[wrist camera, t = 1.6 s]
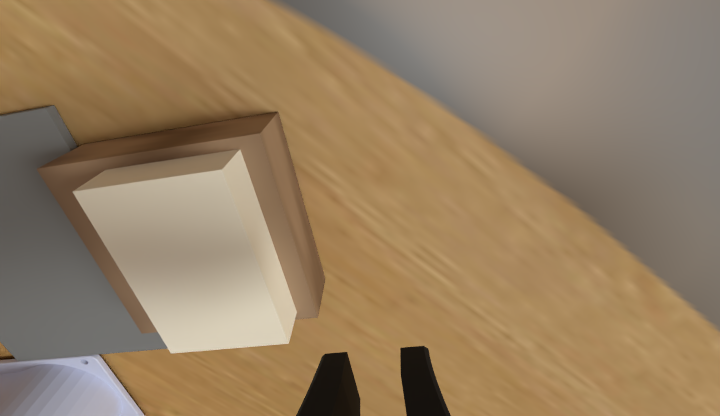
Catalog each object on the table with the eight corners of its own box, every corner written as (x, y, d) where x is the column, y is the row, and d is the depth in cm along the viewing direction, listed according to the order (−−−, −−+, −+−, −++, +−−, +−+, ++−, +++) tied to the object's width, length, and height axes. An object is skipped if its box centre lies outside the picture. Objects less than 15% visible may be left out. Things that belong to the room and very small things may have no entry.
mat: (23, 355, 27) (18, 361, 27) (-164, 144, 20) (-176, 148, 19) (187, 341, 26) (184, 346, 25) (54, 105, 18) (45, 108, 17)
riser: (168, 295, 24) (141, 333, 21) (83, 144, 19) (36, 168, 16) (325, 279, 22) (317, 317, 20) (278, 111, 18) (260, 133, 15)
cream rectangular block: (188, 322, 20) (170, 353, 19) (105, 169, 16) (72, 191, 14) (297, 312, 20) (288, 343, 18) (240, 148, 15) (222, 169, 14)
